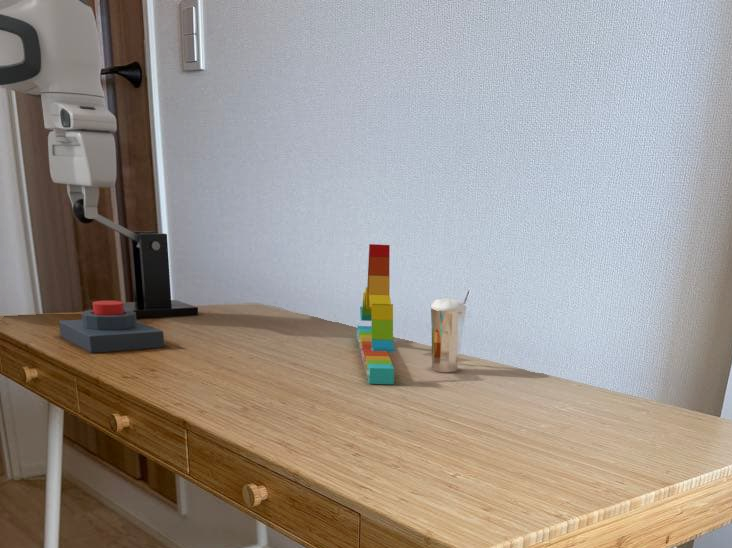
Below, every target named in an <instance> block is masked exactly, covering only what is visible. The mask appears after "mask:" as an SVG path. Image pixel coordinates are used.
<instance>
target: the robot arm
mask: <svg viewBox="0 0 732 548" xmlns="http://www.w3.org/2000/svg"><path fill="white" fill-rule="evenodd" d="M98 31H99V30H98V27H97V21H96V18H95V14H94V11H93V8H92V6H90V4H89V2H88V1H86V0H0V88H2V89H5V90H9V91H11V92H16V93H21V94H26V95H28V96H31V97H32V98H36V99H39V100H40V101H41V107H42V117H43V125H44V129H46V130H51V131H49V132H48V136H47V147H48V148H47V150H48V163H49V164H48V165H49V173H50V177H51V180H52V182H53V183H55V184H62V185H66V192H67V196H68V199H69V201H70V203H71V209H72V208H73V204H74V203H75V202H76V201H77V200H79V199H84V206H82V208H83V216H84V217H85V218H87V219H97V218H98V214H99V212H98V205H99V199H100V188H108V189H109V188H112V189H113V188H114V187H115V185H116V181H117V151H116V141H115V136H114V134H113V133H116V132H117V130H118V125H117V118H116V115H115V114H113V113H112V112H111V111H110V110H109V109H108V107H107V106H106V96H105V92H104V89H103V87H102V82H101V71H102V66H103V64H102V63H103V62H102V54H101V45H100V39H99V32H98Z"/></svg>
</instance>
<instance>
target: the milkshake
mask: <svg viewBox="0 0 732 548" xmlns="http://www.w3.org/2000/svg"><path fill="white" fill-rule="evenodd" d="M470 294H471V290H467V293H466V295H465V298H464V300H463V301H461V300H456V299H455V298H446V297H445V298H437V299H434V301H433V302H432V303H431V304H430V326H431V369H432V370H433V371H434V372H439V373H455V372H457V371H458V366H459V359H460V352H461V345H462V338H463V330H464V325H465V319H466V314H467V305H466V304H467V301H468V299H469V296H470Z"/></svg>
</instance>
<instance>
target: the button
mask: <svg viewBox="0 0 732 548" xmlns="http://www.w3.org/2000/svg"><path fill="white" fill-rule="evenodd" d="M123 303H124V302H123V301H120V300H96V301H93V302H92V310H93V312H94V314H96V315H122V314H124V305H123Z"/></svg>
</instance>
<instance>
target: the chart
mask: <svg viewBox="0 0 732 548" xmlns="http://www.w3.org/2000/svg"><path fill="white" fill-rule="evenodd" d="M390 251H391V250H390V244H375V243H374V244H373V243H369V244H368V264H367V265H368V266H367V283H366V284H367V286H366V287H365V289H364V290H365V291H363V292H362V293H363V295H362V306H359V313H360V321H363V322H364V321H365V322H371V325H357V330H356V331H355V332H356V340H357V343H358V349H359V351H360V355H361V359H362V363H363V367H364V370H365V374H366V377H367V380H368V384H369V385H394V383H395V366H394V365H393V362H392V360H391V357H390V355H389V353H390V352H391V353H392V352H394V353H395V352H396V348H395V347H394V304H393V303H392V302H391V294H390V286H391V285H390V284H391V283H390V282H391V281H390V280H391V279H390V277H391V276H390V257H391V256H390ZM388 352H389V353H388Z"/></svg>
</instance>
